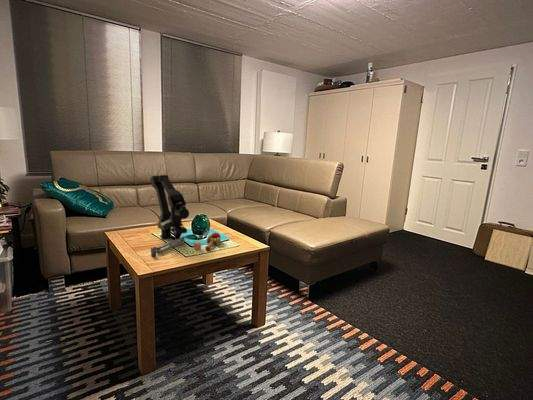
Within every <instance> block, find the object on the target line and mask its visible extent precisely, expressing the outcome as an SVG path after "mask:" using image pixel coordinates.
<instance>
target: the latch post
mask: <svg viewBox="0 0 533 400" xmlns="http://www.w3.org/2000/svg"><path fill="white" fill-rule="evenodd" d="M193 250H194V251H195V252H198V251H201V250H202V242H200V241H195V242H193Z"/></svg>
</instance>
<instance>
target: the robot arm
mask: <svg viewBox="0 0 533 400" xmlns="http://www.w3.org/2000/svg"><path fill="white" fill-rule="evenodd" d="M149 180H150V181H149V182H150V183H151V186H152V188H153V189H154V190H155V191H156V197H157V201H158V203H159V204H158V205H159V209H160V215H159V220H158V222H157V228H158V229H160V231H161V233H160V235H159V237H160V238H161V239H162V240H163V239H164V240H165V239H171V238H174V240H176V239H178V238H181V236H182V234H187V233H188V228H187V227H185V226H184V224H183V222H182V220H185V219H187V218H189V215H190V211H189V210H188V208H186V206H187V203H186V202H187V201H186V200H185V198H184V196H183V194H182V193H181V191H179V190H178V189H176V188H175V186H174V185H173V184H172V181H171V180H170V178H169V175H168V174H159V175H151V177H150V179H149ZM168 203H169V204H168ZM169 207H170V208H169ZM172 233H173V234H172ZM173 235H174V236H173Z"/></svg>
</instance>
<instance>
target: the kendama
mask: <svg viewBox="0 0 533 400" xmlns="http://www.w3.org/2000/svg"><path fill="white" fill-rule="evenodd" d="M220 242H221V234H220V233H218V232H213V233H212V234H211V235H208V236H207V239H206V243H207V245H206V246H205V248H204V249H205V252H210V251H211V250H212V247H213V245H214V244H215V245H216V246H220Z"/></svg>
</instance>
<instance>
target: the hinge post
mask: <svg viewBox="0 0 533 400" xmlns="http://www.w3.org/2000/svg"><path fill="white" fill-rule="evenodd" d="M156 247H157V246H151V247H150V256H151V257H152V258H155V257H157V253H156Z"/></svg>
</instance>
